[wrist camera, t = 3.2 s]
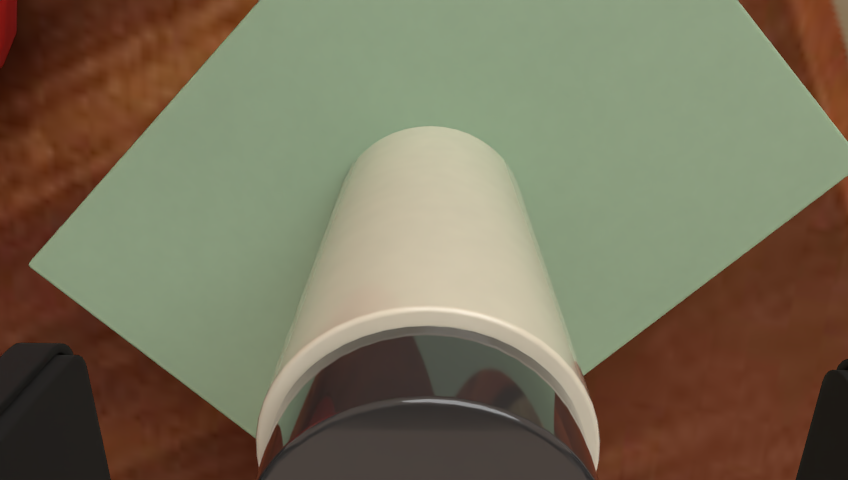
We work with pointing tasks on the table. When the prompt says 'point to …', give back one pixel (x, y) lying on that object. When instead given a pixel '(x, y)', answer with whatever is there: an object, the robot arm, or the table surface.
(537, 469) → the spice bottle
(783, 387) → the table surface
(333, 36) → the shelf
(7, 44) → the tomato
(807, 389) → the table surface
